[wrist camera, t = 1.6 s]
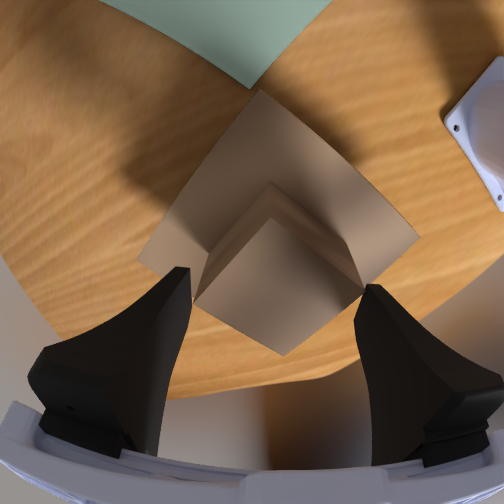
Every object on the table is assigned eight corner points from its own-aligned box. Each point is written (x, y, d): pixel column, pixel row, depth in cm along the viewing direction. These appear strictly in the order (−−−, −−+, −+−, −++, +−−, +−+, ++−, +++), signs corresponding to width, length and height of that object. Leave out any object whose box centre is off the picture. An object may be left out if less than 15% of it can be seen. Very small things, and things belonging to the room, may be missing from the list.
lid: (413, 228, 16) (453, 280, 12) (285, 340, 21) (287, 402, 16) (260, 88, 13) (256, 90, 8) (141, 250, 17) (107, 305, 13)
